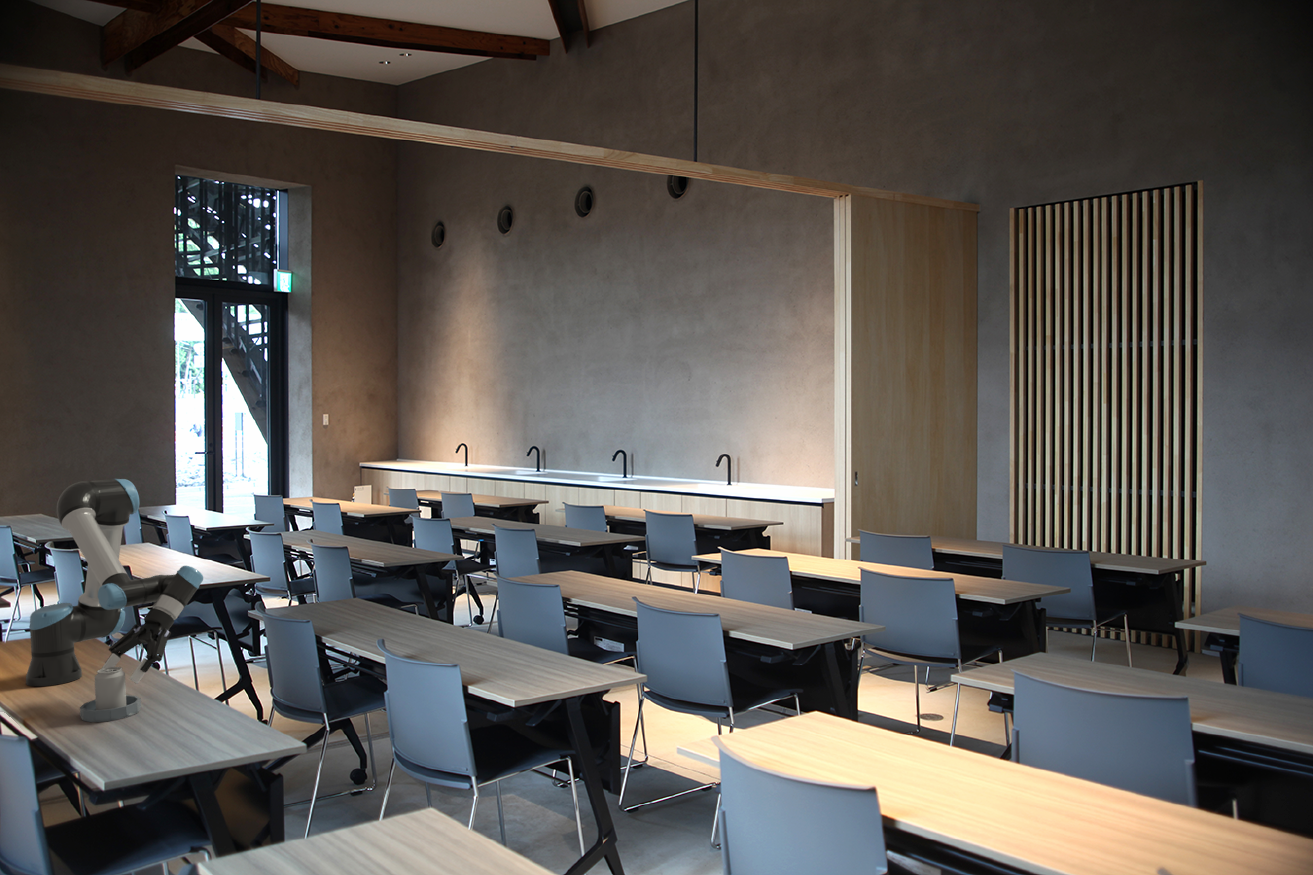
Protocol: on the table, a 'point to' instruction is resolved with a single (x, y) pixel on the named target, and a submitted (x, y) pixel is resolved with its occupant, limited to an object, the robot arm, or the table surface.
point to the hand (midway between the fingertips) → (117, 678)
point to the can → (110, 688)
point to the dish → (110, 710)
